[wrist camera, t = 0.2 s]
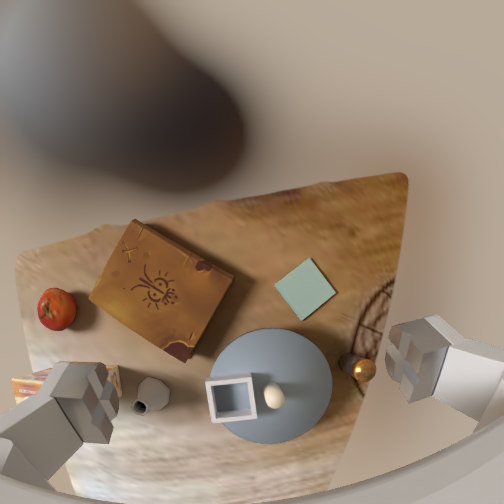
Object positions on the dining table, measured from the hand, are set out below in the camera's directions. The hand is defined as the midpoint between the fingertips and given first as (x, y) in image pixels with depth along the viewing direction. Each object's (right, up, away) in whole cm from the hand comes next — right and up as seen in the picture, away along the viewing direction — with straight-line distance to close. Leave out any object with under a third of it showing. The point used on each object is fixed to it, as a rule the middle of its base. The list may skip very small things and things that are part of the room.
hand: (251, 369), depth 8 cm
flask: (-20, -26, +50) cm, 60 cm away
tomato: (-42, -10, +52) cm, 67 cm away
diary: (-18, -5, +54) cm, 57 cm away
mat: (+11, -4, +54) cm, 55 cm away
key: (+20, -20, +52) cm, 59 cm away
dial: (+3, -21, +46) cm, 51 cm away
